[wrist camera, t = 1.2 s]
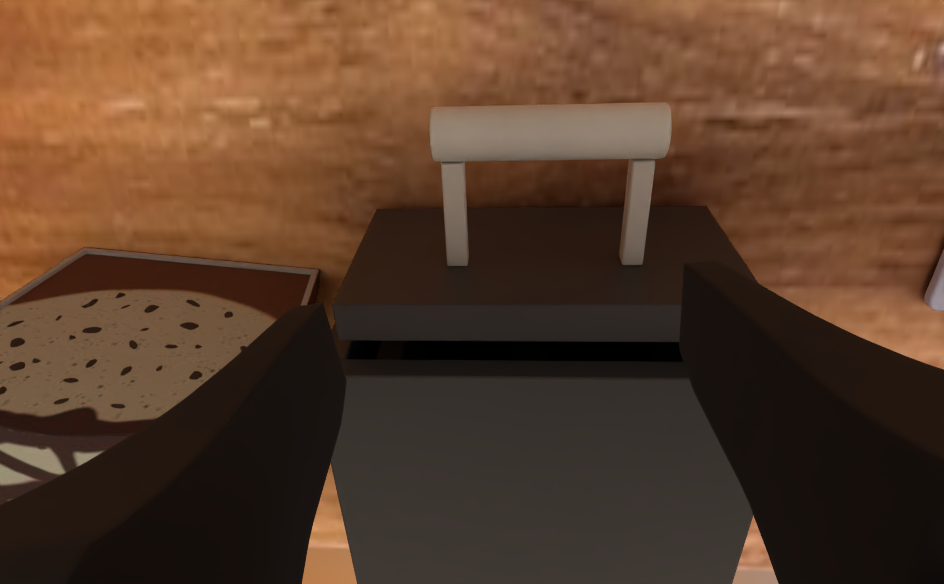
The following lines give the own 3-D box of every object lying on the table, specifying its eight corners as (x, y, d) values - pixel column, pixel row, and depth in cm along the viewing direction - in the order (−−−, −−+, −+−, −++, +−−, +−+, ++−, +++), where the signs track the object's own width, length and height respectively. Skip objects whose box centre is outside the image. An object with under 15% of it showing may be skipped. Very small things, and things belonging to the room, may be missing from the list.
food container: (86, 365, 27) (-107, 568, 19) (45, 243, 24) (-208, 421, 16) (359, 392, 27) (290, 607, 19) (356, 272, 24) (271, 467, 15)
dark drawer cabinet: (370, 240, 23) (310, 376, 16) (709, 238, 22) (796, 380, 16) (403, 485, 30) (371, 653, 23) (661, 491, 29) (707, 666, 23)
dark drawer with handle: (359, 76, 19) (300, 137, 14) (731, 67, 18) (821, 128, 13) (407, 459, 28) (382, 587, 23) (660, 464, 27) (696, 597, 22)
